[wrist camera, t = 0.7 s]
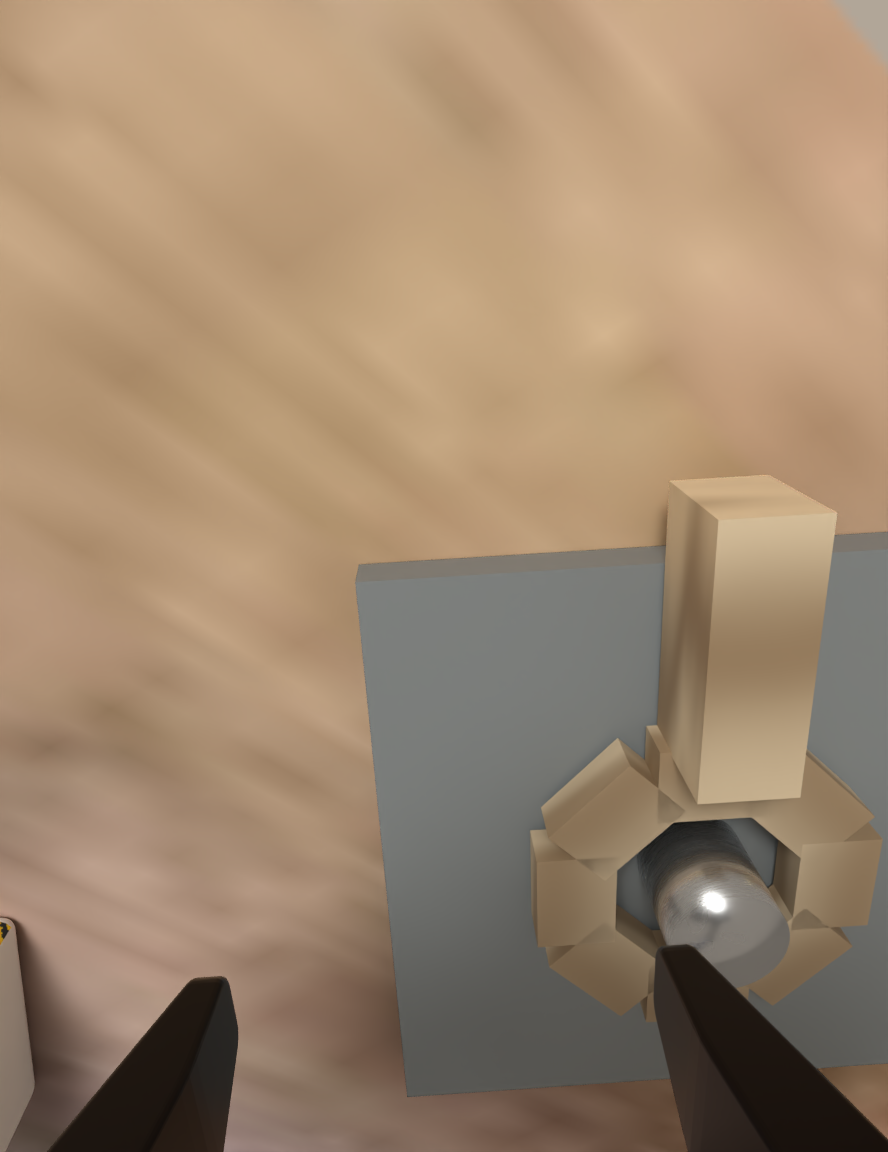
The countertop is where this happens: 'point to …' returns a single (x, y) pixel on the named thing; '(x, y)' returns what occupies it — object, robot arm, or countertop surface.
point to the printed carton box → (12, 1038)
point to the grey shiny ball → (714, 899)
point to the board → (542, 768)
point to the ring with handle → (716, 750)
